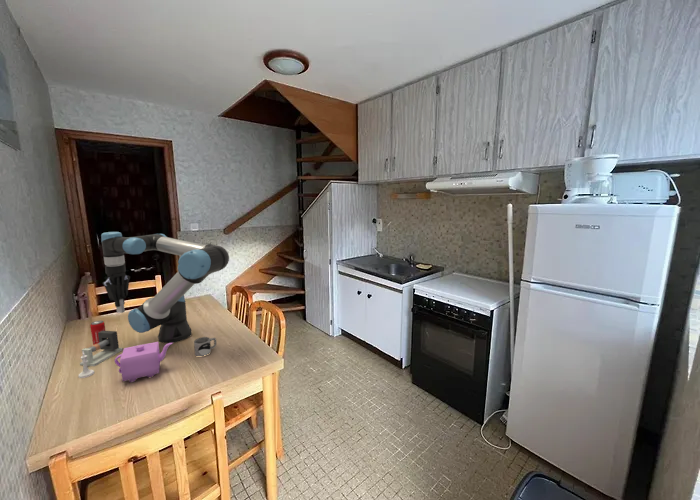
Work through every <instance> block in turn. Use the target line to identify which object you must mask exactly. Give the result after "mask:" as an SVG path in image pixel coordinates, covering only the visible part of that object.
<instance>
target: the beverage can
mask: <svg viewBox="0 0 700 500" xmlns="http://www.w3.org/2000/svg"><path fill="white" fill-rule="evenodd" d="M89 326H90V333H91V340H92V346H93V345H95V344H98V343H99V337H98V332H101V331H106V326H105V322H104V320H96V321H92V322H91V323H90V325H89Z"/></svg>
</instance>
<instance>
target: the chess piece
mask: <svg viewBox="0 0 700 500" xmlns="http://www.w3.org/2000/svg"><path fill="white" fill-rule="evenodd" d="M81 353H82V354H83V355H81V356H80V360H81V362H80V363H81V364H83V365H82V367H83V368H82V371H81V372H80V373H78V378H79V379H85V378H89V377H91V376H93V375H94V374H95V369H89V366H87V362H88V360H86V358H87V355H85V354H84V352H82V351H81Z"/></svg>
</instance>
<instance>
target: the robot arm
mask: <svg viewBox="0 0 700 500" xmlns="http://www.w3.org/2000/svg"><path fill="white" fill-rule="evenodd" d="M100 237H101V241H100V242H101V245H102V246H101V247H102V253H103V261H104V265H105V266H104V269H105V274H106V276H107V277H106V280H105V281H103V282H102V285H103V287H104V288H105V291H106V293H107V296H108V299H109V300H110V301H114V307H116V313H118V314H120V313H121V314H123V313H125V303H126V302H125V299H127V297H128V295H129V286H130V285H129V284H130V279H131V276H130V275H127V274H126V271H127V269H126V261H125V260H126V259H125V254H126V255H128V254H129V255H140V254H142V253H143V252H148V251H158V252H162V253H167V254H172V255H175V256H179V259H178V262H177V263H178V265H177V272H176V273H175V274H174V275H173V276H172V277H171V279H170V280H168V281H167V283H166V284H165V285H164V286H163V287H162V288H161V289H160V290H159V291H158V292H157V293H156V294H155V295H154V296H153V297H149V298H148V299H146V300H145V301H144V302H143V303H142V304H141V305H140V306H139V307H135V308H133V309H132V310H130V311H129V312H128V315H127V319H128V323H129V326H130V327H131V329H132V330H134V331H135V332H136V333H139V334H142V333H147V332H149V331H150V330H153V329H155V328H157V327H159V332H158V335H157V338H158V341H157V342H158V343H162V344H168V343H173V344H175V343H178V342H182V341H185V340H186V339H188V338H190V337H191V336H192V335H193V334H192V332H193V331H192V328H191V327H190V324H189V322H188V319H187V307H186V306H187V305H186V304H187V303H186V297H185V294H186V293H187V292H188V291H189V290H190V289H191V288H192V287H193V286H194V285H198V284H201V283H202V282H203V281H204V280H206V278H208V276H209V275H211V274H213V273H216V272H219V271H221V270H223V269H225V268H226V267H227V265H228V264H229V262H230V255H229V252H228V250H227V249H226V248H224V247H223V246H220V245H218V244H217V245H216V244H211V243H207V244H201V243H196V242H192V241H187V240H181V239H178V238H173V237H168V236H167V235H165V234H164V233H153V234H145V235H137V236H129V237H125V236H123V234H122V232H119V231H108V232H103V233H101V235H100Z"/></svg>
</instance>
